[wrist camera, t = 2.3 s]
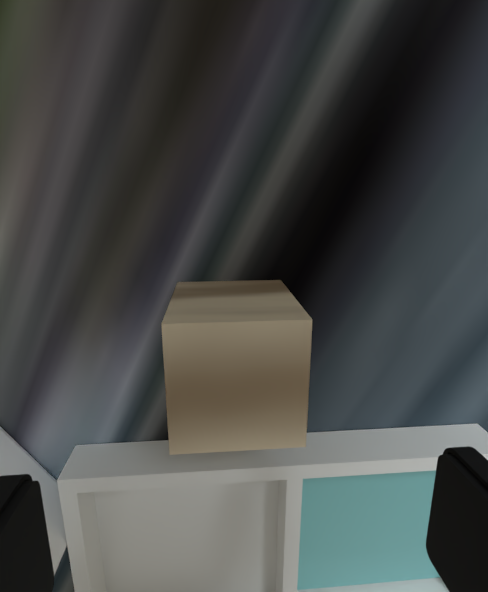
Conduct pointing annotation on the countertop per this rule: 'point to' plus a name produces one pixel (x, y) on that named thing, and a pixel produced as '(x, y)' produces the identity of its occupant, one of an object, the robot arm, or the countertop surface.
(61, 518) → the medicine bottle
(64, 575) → the countertop surface
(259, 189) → the countertop surface
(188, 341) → the wooden block
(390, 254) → the countertop surface
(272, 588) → the organiser tray
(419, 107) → the countertop surface
